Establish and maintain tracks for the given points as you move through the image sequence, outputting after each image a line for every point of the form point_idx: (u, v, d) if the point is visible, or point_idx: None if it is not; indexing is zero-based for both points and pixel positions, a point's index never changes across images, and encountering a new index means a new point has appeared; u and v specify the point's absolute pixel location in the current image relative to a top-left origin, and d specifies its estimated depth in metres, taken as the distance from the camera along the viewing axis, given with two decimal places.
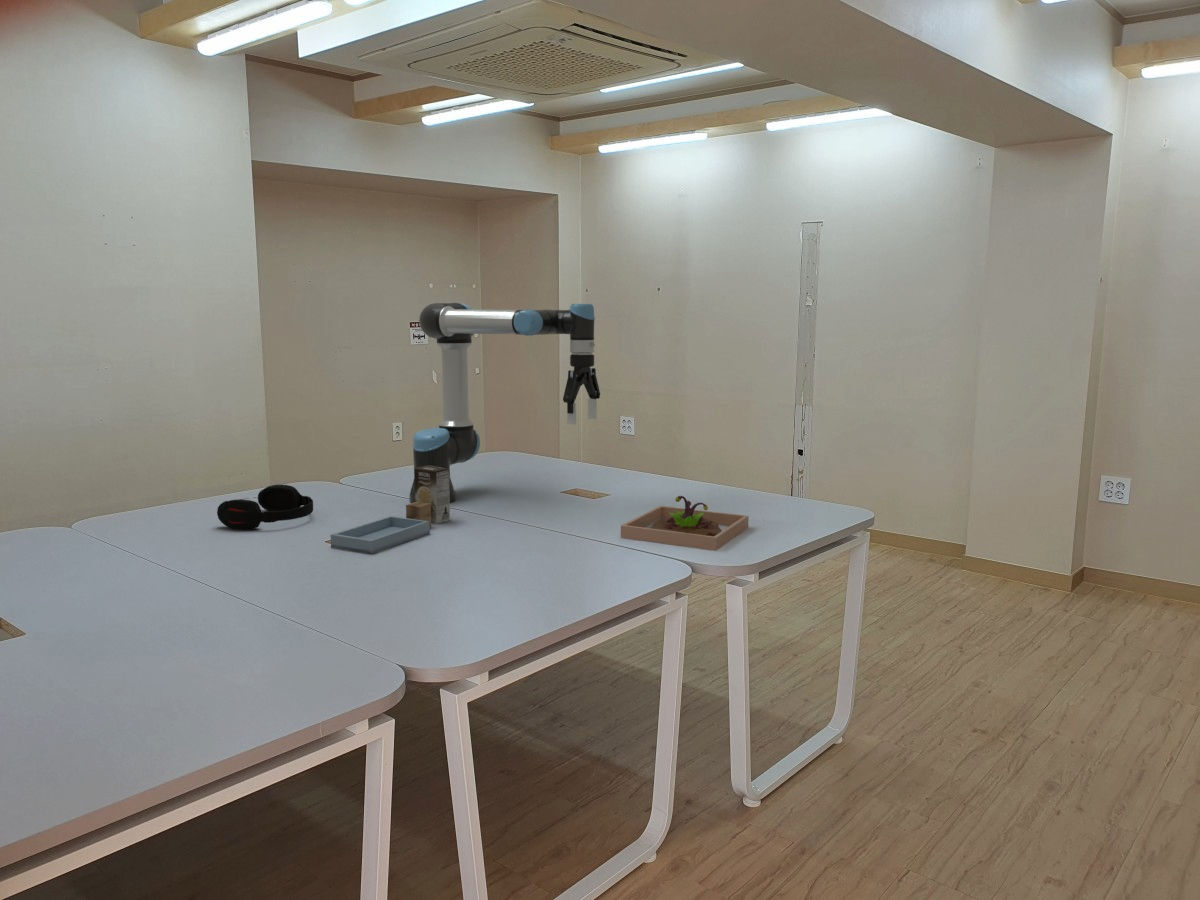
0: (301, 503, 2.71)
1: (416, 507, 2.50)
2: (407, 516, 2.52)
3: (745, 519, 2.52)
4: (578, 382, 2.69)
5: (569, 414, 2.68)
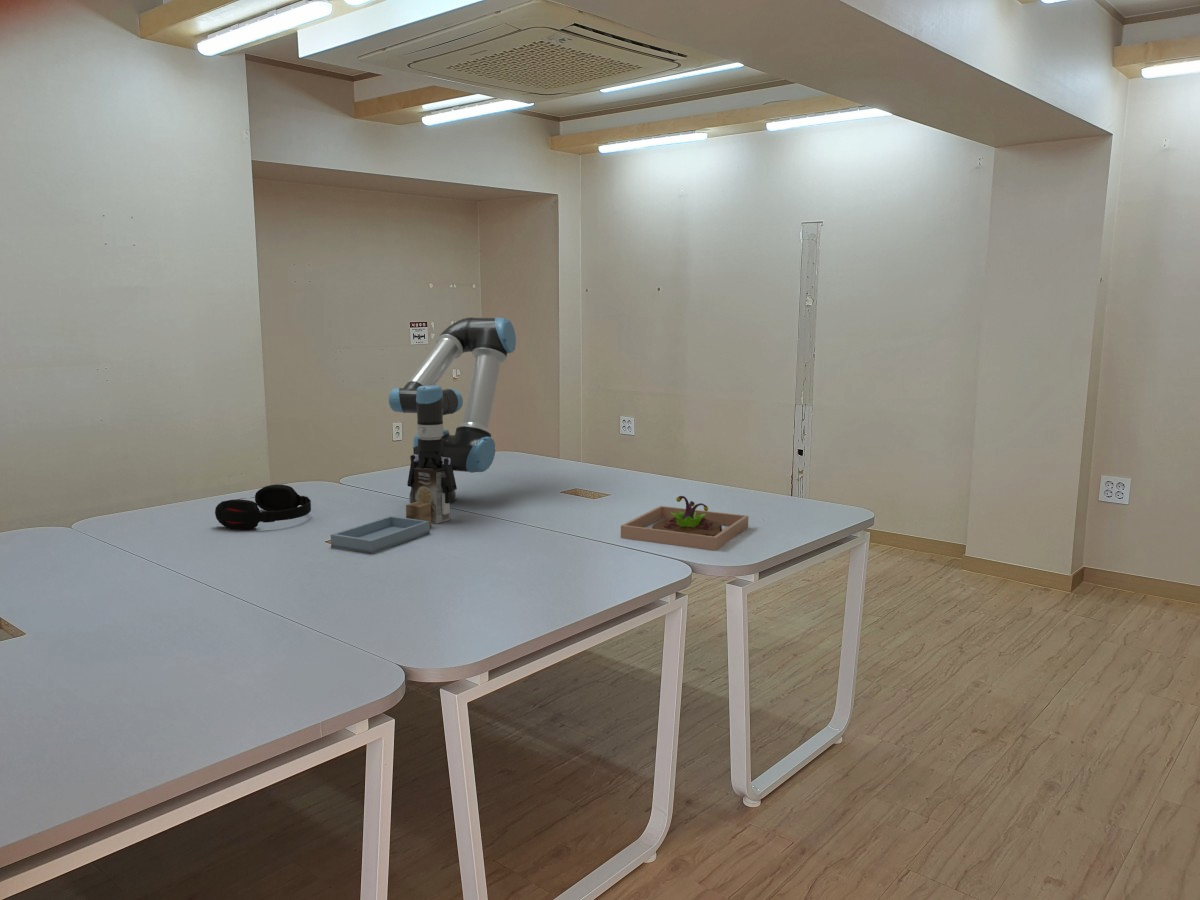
0: (298, 503, 2.72)
1: (416, 507, 2.50)
2: (407, 516, 2.52)
3: (745, 519, 2.52)
4: None
5: None
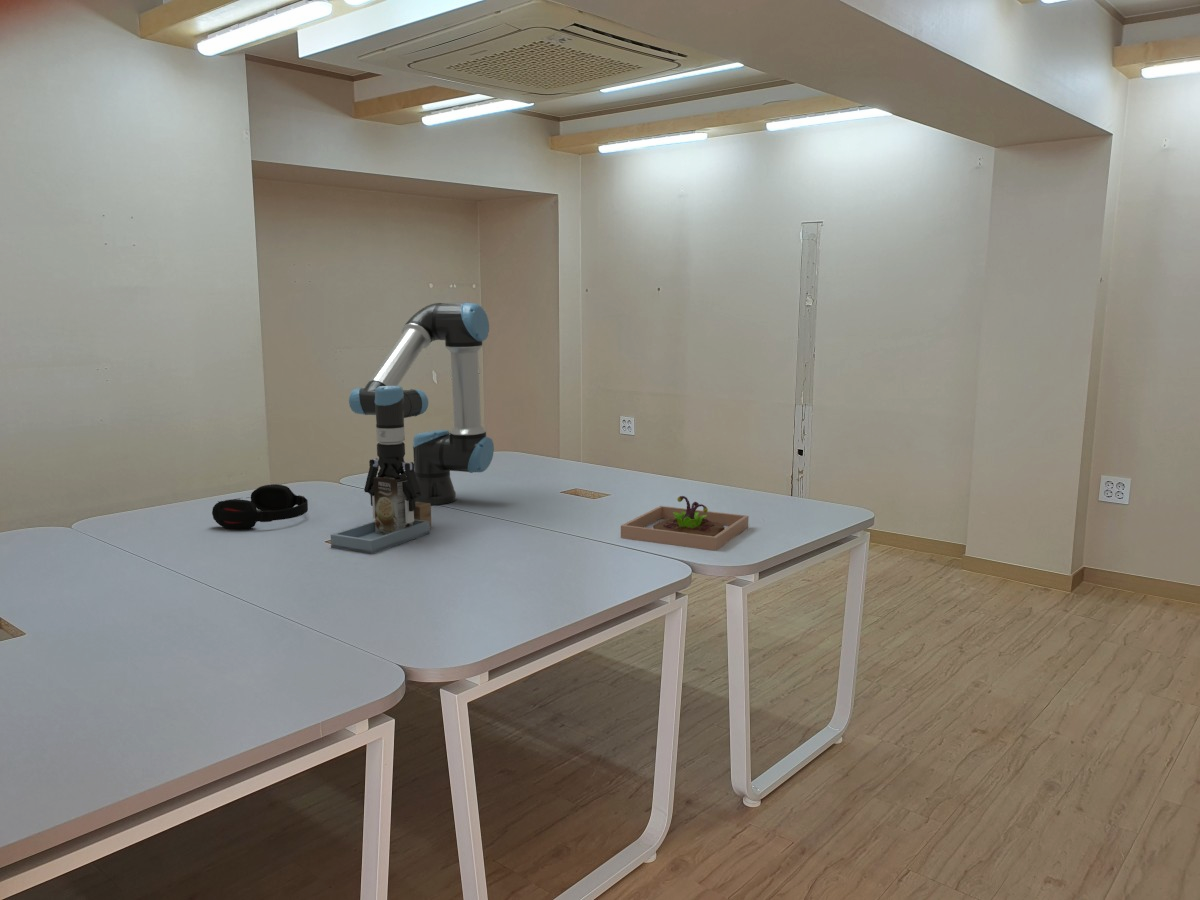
0: (295, 503, 2.72)
1: (416, 507, 2.50)
2: None
3: (745, 519, 2.52)
4: None
5: None
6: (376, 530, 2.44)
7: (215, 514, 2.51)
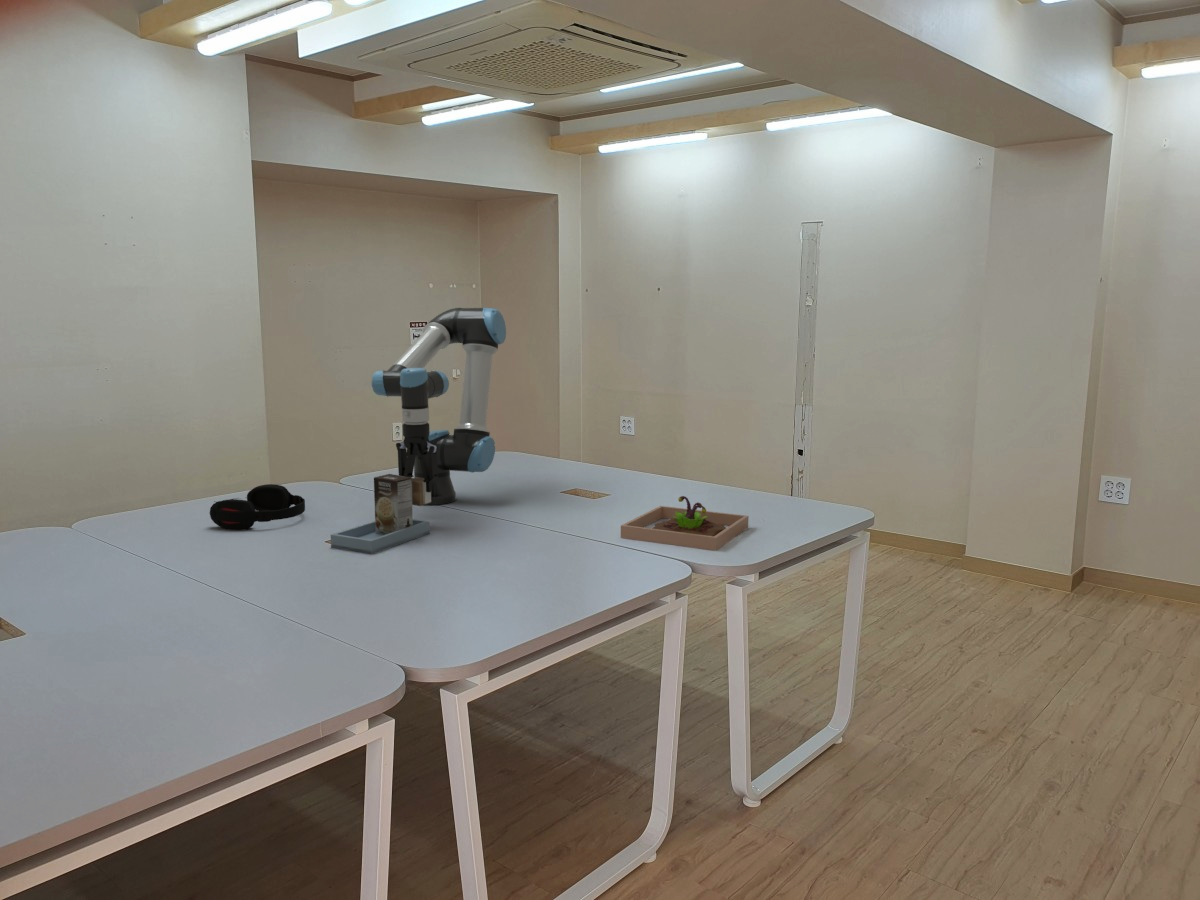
0: (291, 502, 2.72)
1: (416, 482, 2.49)
2: None
3: (745, 519, 2.52)
4: None
5: None
6: (376, 530, 2.44)
7: (213, 514, 2.51)
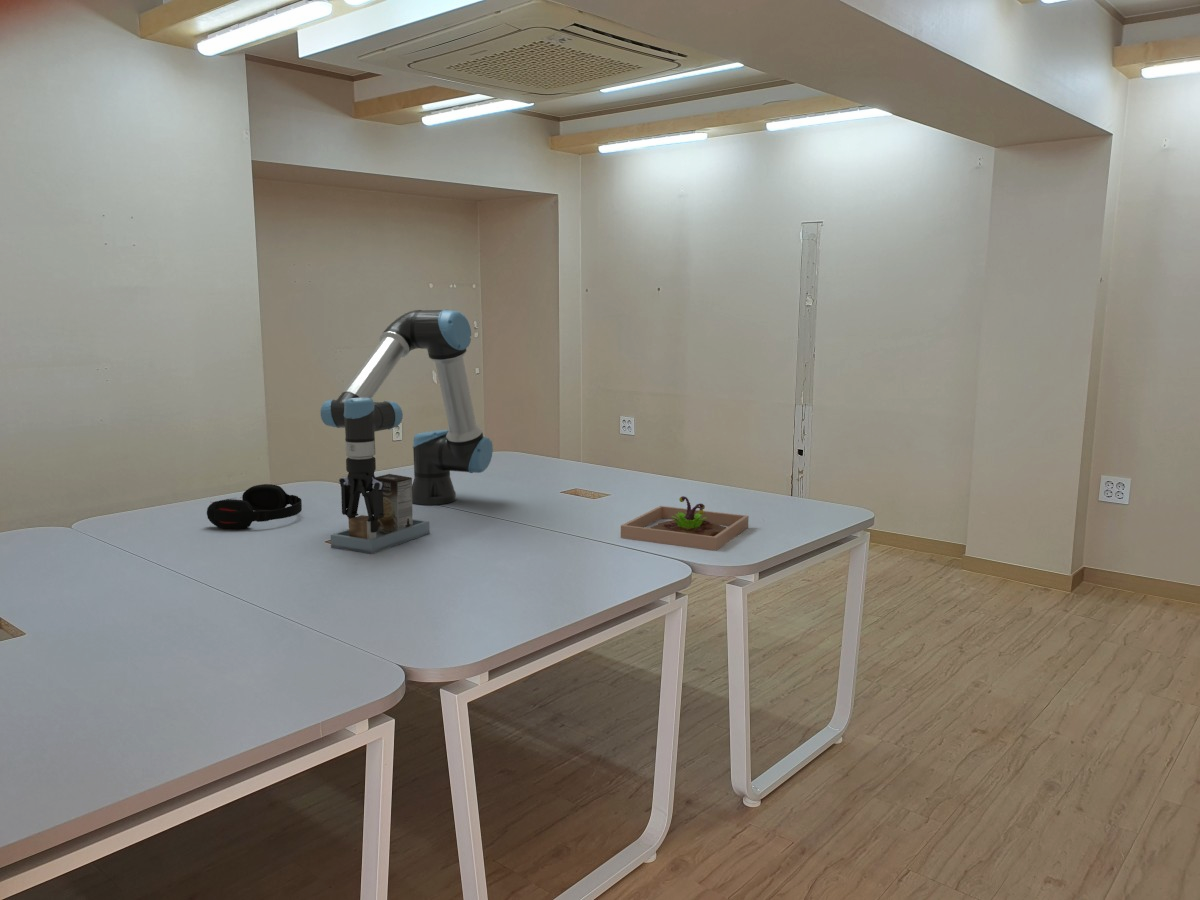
0: (287, 502, 2.73)
1: (359, 521, 2.30)
2: (350, 531, 2.32)
3: (745, 519, 2.52)
4: None
5: None
6: None
7: (210, 514, 2.51)
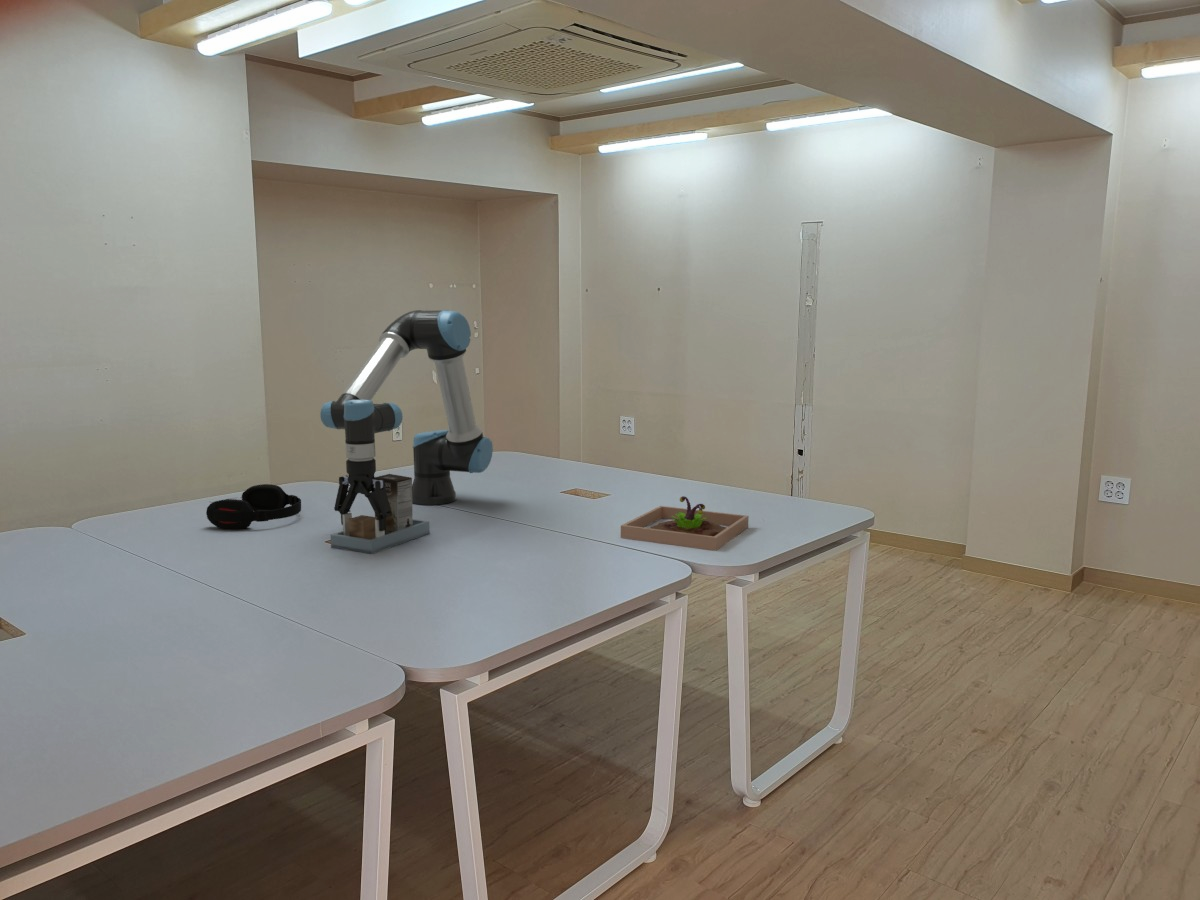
0: (286, 502, 2.73)
1: (359, 521, 2.30)
2: (350, 531, 2.32)
3: (745, 519, 2.52)
4: None
5: None
6: None
7: (209, 514, 2.51)
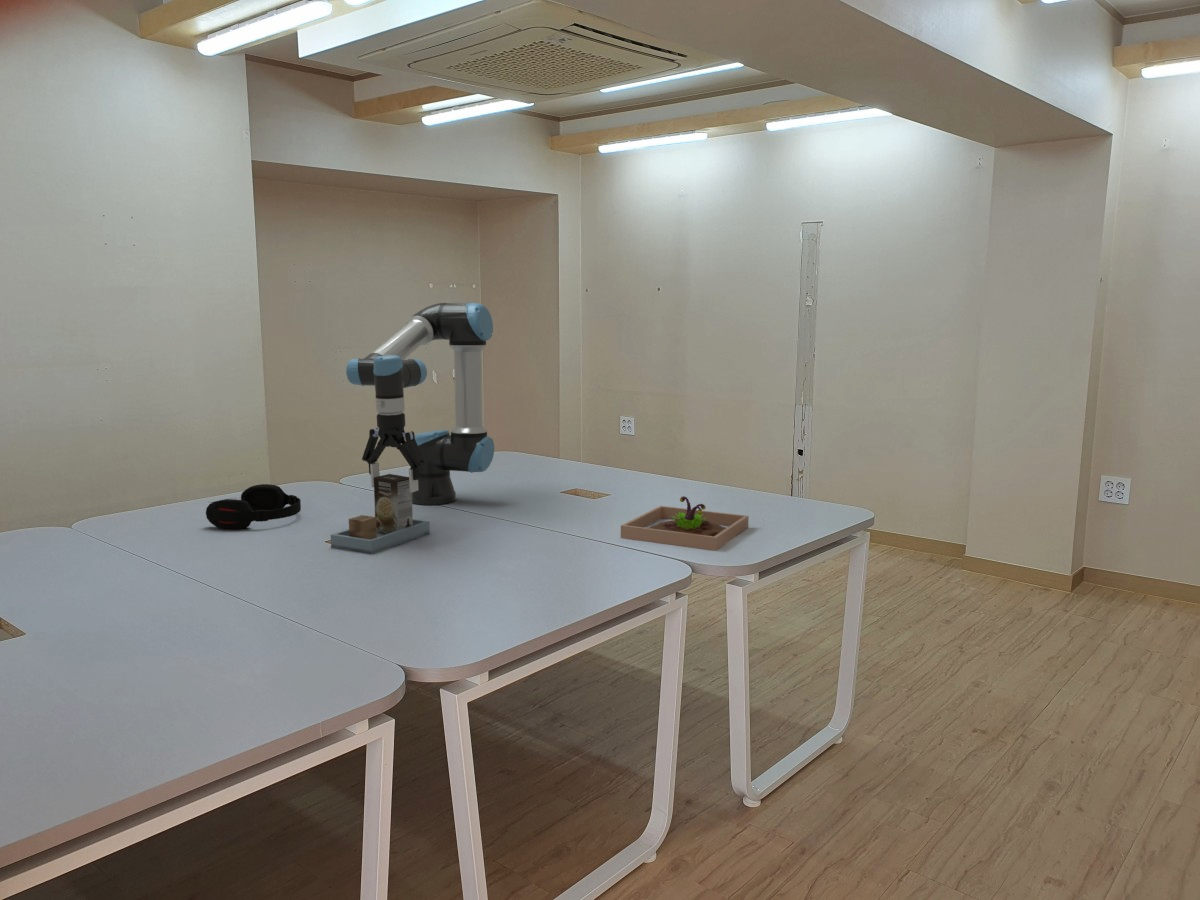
0: (286, 502, 2.73)
1: (359, 521, 2.30)
2: (350, 531, 2.32)
3: (745, 519, 2.52)
4: None
5: None
6: None
7: (209, 514, 2.51)
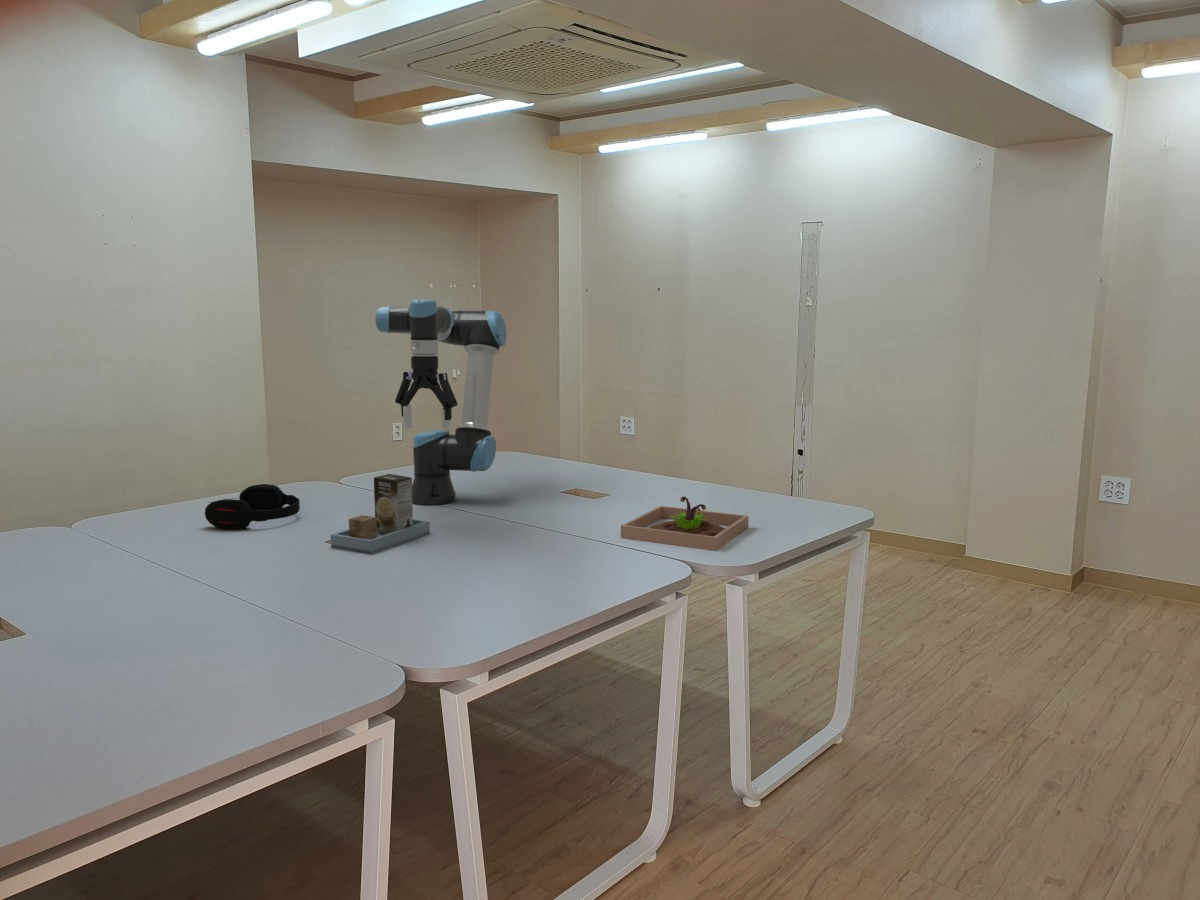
0: (284, 502, 2.73)
1: (359, 521, 2.30)
2: (350, 531, 2.32)
3: (745, 519, 2.52)
4: None
5: None
6: None
7: (208, 514, 2.51)
